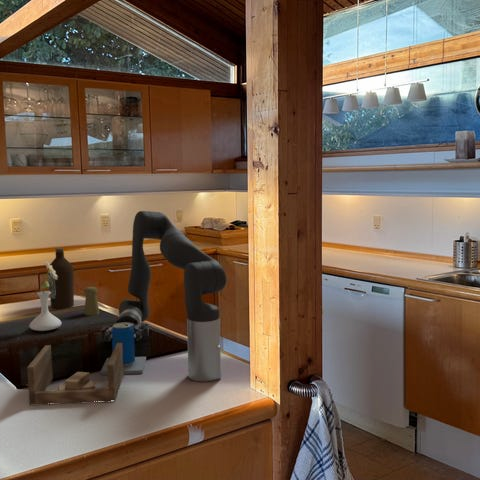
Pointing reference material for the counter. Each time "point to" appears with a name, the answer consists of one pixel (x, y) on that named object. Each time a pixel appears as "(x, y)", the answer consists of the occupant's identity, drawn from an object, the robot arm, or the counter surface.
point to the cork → (91, 301)
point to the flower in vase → (45, 308)
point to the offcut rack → (43, 376)
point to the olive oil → (61, 282)
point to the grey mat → (134, 368)
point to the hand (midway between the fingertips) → (122, 338)
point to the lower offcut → (88, 386)
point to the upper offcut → (77, 381)
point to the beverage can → (124, 341)
